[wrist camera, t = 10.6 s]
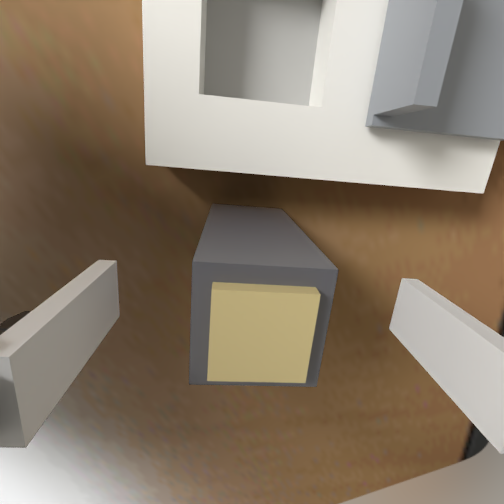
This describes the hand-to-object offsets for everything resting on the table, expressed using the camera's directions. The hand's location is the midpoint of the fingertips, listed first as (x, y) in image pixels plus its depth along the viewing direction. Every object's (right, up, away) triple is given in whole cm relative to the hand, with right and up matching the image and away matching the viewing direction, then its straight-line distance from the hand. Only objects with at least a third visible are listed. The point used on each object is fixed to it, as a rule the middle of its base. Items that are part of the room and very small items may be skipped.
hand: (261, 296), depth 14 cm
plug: (-1, +3, +8) cm, 9 cm away
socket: (+4, +14, +5) cm, 16 cm away
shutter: (+10, +12, +2) cm, 16 cm away
